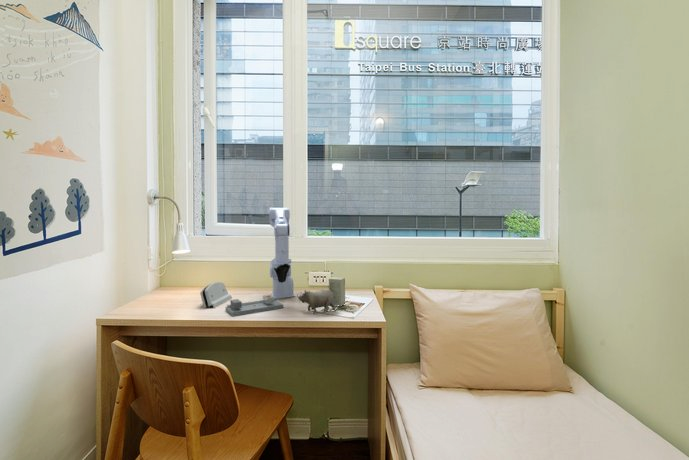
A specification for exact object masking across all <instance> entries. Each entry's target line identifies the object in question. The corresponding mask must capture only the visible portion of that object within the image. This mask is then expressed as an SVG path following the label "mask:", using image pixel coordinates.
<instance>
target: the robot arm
mask: <svg viewBox="0 0 689 460" xmlns="http://www.w3.org/2000/svg"><path fill="white" fill-rule="evenodd" d="M268 210H269V217H268V218H269V224H270V226H271V227H273V234H274V241H275V244H274V248H275V249H274V251H275V252H274V253H275V254H274V255H275V257H274V258H273V259H272V260H270V263H269V277H270V278H272V294H271V293H270V294H269V295H271V296H272V297H274V298H275V300H280V299H284V298H285V299H286V298H293V297H295V294H294V292H295V291H294V280H293V278H292V277H291V275H292V265H291V264H292V258H289V247H290V245H289V244H290V243H289V242H290V241H289V237H290V235H291V227H290V217H291V216H290V215H291V213H290V212H291V211H290V207H271V206H270V207H269V209H268Z"/></svg>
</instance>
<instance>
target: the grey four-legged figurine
mask: <svg viewBox="0 0 689 460" xmlns="http://www.w3.org/2000/svg"><path fill="white" fill-rule="evenodd" d="M301 294H302V295H301ZM296 295H297V298H298V301H300V302H302V304H304V303H306V304H307V305H308V306H307V311H310V310H311V309H313V312H312V314H313V315H315V314H317V308H324V310H323V311H322V314H323V313H325V314H326V313H327V311H328V310H329V309H330V307H331V311H332V310H335V309H336V306H335V305H334V304H333V303H332V301H333V298H334V294H333V293H332V292H331V291H330V290H329V289H319V290H317V291H307V290H306V289H305V290H304V293H302V292H300V295H298V294H296ZM336 310H337V309H336Z"/></svg>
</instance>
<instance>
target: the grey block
mask: <svg viewBox="0 0 689 460" xmlns="http://www.w3.org/2000/svg"><path fill="white" fill-rule="evenodd" d="M262 300H263V302H265V303H266V304H271V303H274V297H272V296H271V295H270V294H265V295H262Z"/></svg>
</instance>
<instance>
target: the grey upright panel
mask: <svg viewBox="0 0 689 460" xmlns="http://www.w3.org/2000/svg"><path fill="white" fill-rule="evenodd" d="M199 295H200V298H201V301H202V302H201V303H202V304H203V305H202V306H203V308H207V307H211V306H212V307H213V309H216V308H218V307H219V306H222V305H223V304H226V303H228V302H229V301H230V300H233V297H232V295H231V294H230V293H229V292H228V290H227V288H226V285H225V283H224V282H220V281H217V282H213V283H210V284H207V285H206V286H204V287H203V288H201V291H200V292H199Z"/></svg>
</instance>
